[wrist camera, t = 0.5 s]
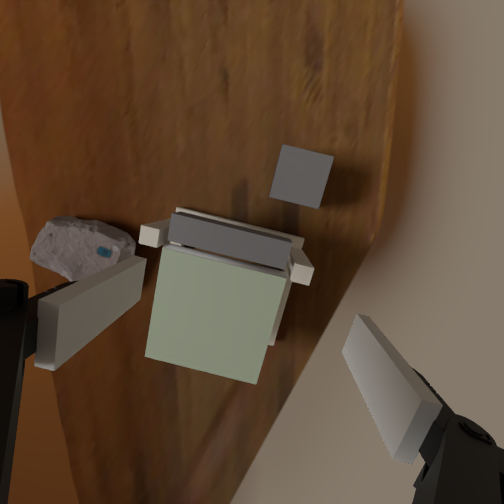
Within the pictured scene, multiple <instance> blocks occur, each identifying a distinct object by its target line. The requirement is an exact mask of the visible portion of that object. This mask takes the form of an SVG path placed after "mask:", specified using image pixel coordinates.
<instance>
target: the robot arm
mask: <svg viewBox="0 0 504 504" xmlns="http://www.w3.org/2000/svg"><path fill="white" fill-rule="evenodd" d="M146 260H147V259H146V258H142V257H139V256H135V255H134V256H132V257H130V258H128V259H126V260H124V261H121V262H119V263H117V264H115V265H113V266H111V267H108V268H106V269H104V270H102V271H100V272H98V273H95V274H93V275H91V276H89V277H87V278H85V279H82V280H80V281H72V282H67V283H63V284H61V285H58V286H56V287H54V288H51V289H49V290H47V291H46V292H42V293H40V294H38V295H35V296H33V297H31V298H29V299H28V288H29V286H28V284H27V283H26V282H24V281H20V280H15V279H0V504H7V503H8V495H9V487H10V479H11V472H12V464H13V455H14V448H15V440H16V431H17V424H18V416H19V408H20V400H21V392H22V384H23V376H24V368H25V359H26V358H27V357H29V356H30V355H32V354H33V353H35V363H34V366H37V367H41V368H44V369H49V370H52V371H55V370H56V369H57V368H58V367H60V366H61V365H62V364H63V363H64V362H66V361H67V360H68V359H69V358H70V357H72V356H73V355H74V354H75V353H76V352H78V351H79V350H80V349H81V348H82V347H84V346H85V345H86V344H87V343H88V342H90V341H91V340H92V339H93V338H94V337H96V336H97V335H98V334H99V333H101V332H102V331H103V330H104V329H105V328H107V327H108V326H109V325H110V324H111V323H113V322H114V321H115V320H116V319H117V318H119V317H120V316H121V315H122V314H123V313H125V312H126V311H127V310H128V309H129V308H131V307H132V306H133V305H134V304H135V303H137V302H138V301H139V300H140V298H141V291H142V285H143V279H144V273H145V267H146ZM342 353H343V356H344V358H345V360H346V362H347V364H348V366H349V368H350V371H351V373H352V375H353V377H354V379H355V381H356V383H357V385H358V387H359V390H360V391H361V394H362V396H363V398H364V400H365V402H366V404H367V406H368V409H369V411H370V413H371V415H372V417H373V419H374V421H375V423H376V425H377V428H378V429H379V432H380V434H381V436H382V438H383V440H384V442H385V444H386V447H387V448H388V451H389V453H390V455H391V457H392V459H393V460H397V461H401V462H404V463H408V464H413V462H414V460H415V458H416V457H417V455H418V453H419V452H420V454H421V456H422V457H423V459H424V461H425V464H424V466H423V468H422V470H421V472H420V474H419V476H418V477H417V479H416V481H415V483H414V485H413V486H414V487H415V488H416V491H415V495H414V499H413V503H412V504H504V449H502V448H500V447H498V446H497V445H496V443H495V440H494V439H493V438H492V437H491V436H490V435H489V433H487V432H486V431H485V430H484V429H483V428H482V427H480V426H479V425H477V424H476V423H475V422H473V421H471V420H469V419H467V418H466V417H463V416H460V415H457V414H455V413H454V412H453V411H452V410H451V408H450V407H449V406H448V405H447V404H446V403H445V401H443V399H442V398H441V397H440V396H439V394H437V393H436V391H435V390H434V389H433V387H432V386H430V384H429V383H428V382H427V381H426V379H425V378H424V377H423V376H422V375H421V374H420V373H418V372H417V371H416V370H415V369H413V368H412V367H410V365H409V364H408V363H407V362H406V361H405V359H404V358H403V357H402V356H401V354H400V353H399V352H398V351H397V350H396V349H395V347H394V346H393V345H392V344H391V342H390V341H389V340H388V339H387V338H386V336H385V335H384V334H383V333H382V332H381V331H380V329H379V328H378V327H377V326H376V324H375V323H374V322H373V321H372V320H371V318H370V317H368V316H365V315H360V314H357V315H356V317H355V320H354V322H353V325H352V327H351V330H350V332H349V335H348V338H347V340H346V343H345V346H344V348H343V351H342Z"/></svg>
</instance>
